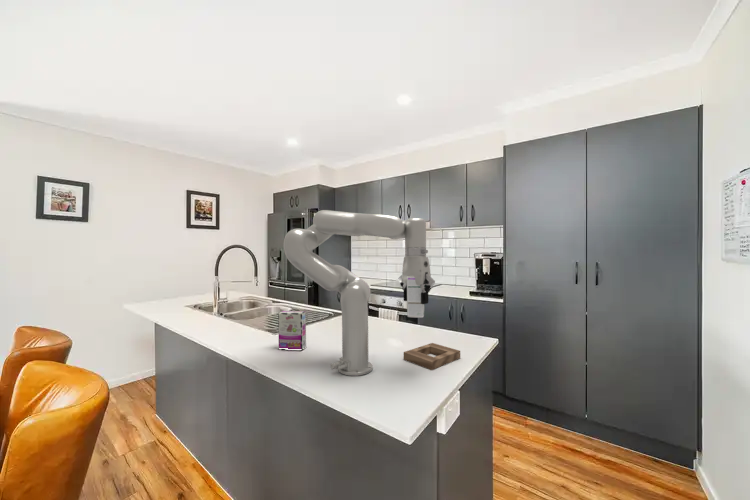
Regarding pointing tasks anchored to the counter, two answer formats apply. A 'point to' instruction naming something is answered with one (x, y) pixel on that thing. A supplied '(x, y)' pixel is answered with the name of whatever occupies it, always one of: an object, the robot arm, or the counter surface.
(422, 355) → the square wooden frame
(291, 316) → the candy bar box
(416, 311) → the syrup box
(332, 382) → the counter surface
